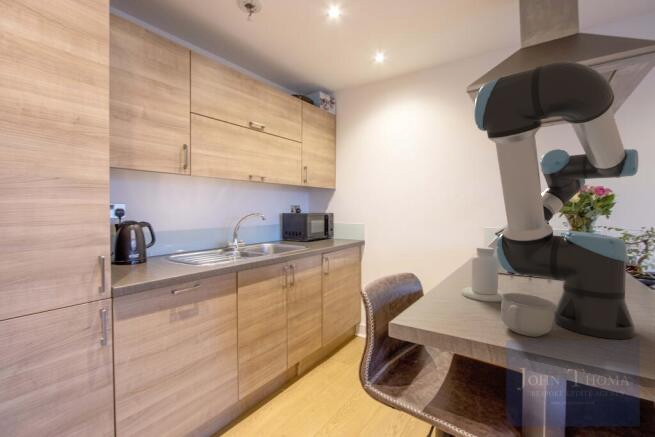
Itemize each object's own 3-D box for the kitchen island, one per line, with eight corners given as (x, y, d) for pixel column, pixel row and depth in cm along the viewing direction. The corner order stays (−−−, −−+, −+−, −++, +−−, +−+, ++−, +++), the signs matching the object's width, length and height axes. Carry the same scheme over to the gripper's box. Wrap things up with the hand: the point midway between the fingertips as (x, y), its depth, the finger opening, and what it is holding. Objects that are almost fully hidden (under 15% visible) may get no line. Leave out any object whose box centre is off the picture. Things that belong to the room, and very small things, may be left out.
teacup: (518, 320, 81) (519, 290, 81) (564, 336, 71) (565, 301, 71) (482, 329, 75) (482, 297, 75) (527, 347, 65) (528, 310, 65)
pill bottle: (498, 291, 105) (499, 247, 104) (497, 296, 98) (497, 250, 97) (473, 287, 109) (473, 245, 108) (469, 293, 102) (470, 248, 102)
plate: (506, 304, 94) (506, 300, 94) (457, 297, 102) (457, 293, 102) (509, 294, 105) (510, 290, 105) (465, 288, 113) (465, 284, 113)
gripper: (581, 218, 91) (530, 269, 91) (525, 216, 116) (486, 256, 116) (564, 200, 91) (513, 251, 91) (512, 202, 116) (472, 242, 116)
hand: (498, 254), depth 104 cm, fingers open, 13 cm apart
